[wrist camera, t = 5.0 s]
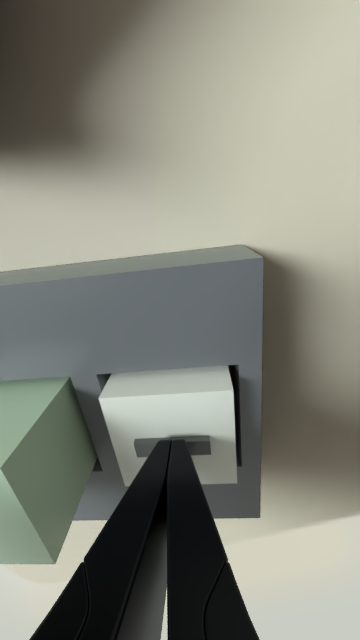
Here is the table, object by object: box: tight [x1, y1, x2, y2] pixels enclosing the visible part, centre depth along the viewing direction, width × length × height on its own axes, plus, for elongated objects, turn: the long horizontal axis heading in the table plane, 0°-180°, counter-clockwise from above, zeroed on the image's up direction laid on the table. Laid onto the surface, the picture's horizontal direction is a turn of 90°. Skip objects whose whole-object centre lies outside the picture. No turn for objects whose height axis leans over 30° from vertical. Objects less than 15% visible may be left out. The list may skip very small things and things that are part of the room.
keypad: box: [0, 245, 263, 520], centre depth 11 cm, size 17×11×3 cm, turn 97°
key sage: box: [0, 376, 98, 564], centre depth 8 cm, size 4×4×4 cm
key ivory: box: [98, 365, 237, 486], centre depth 10 cm, size 4×4×4 cm
